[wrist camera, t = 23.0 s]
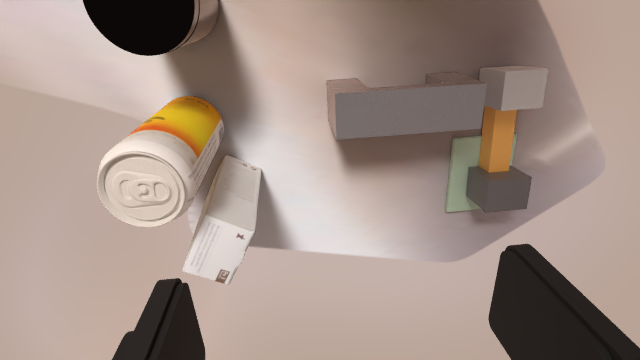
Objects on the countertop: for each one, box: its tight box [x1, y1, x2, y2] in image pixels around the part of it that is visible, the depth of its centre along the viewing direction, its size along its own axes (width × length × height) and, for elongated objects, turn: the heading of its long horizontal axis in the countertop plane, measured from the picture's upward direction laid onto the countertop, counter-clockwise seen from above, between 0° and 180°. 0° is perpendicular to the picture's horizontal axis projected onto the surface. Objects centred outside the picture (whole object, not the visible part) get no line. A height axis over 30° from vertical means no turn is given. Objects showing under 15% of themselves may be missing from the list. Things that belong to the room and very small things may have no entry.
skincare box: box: [182, 155, 261, 285], centre depth 34 cm, size 6×4×12 cm
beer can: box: [97, 96, 224, 227], centre depth 30 cm, size 6×6×15 cm
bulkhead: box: [327, 72, 487, 140], centre depth 34 cm, size 4×13×6 cm, turn 93°
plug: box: [466, 66, 549, 212], centre depth 37 cm, size 14×4×5 cm, turn 3°
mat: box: [445, 133, 517, 212], centre depth 42 cm, size 9×7×1 cm
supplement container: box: [83, 0, 219, 56], centre depth 27 cm, size 7×7×10 cm
